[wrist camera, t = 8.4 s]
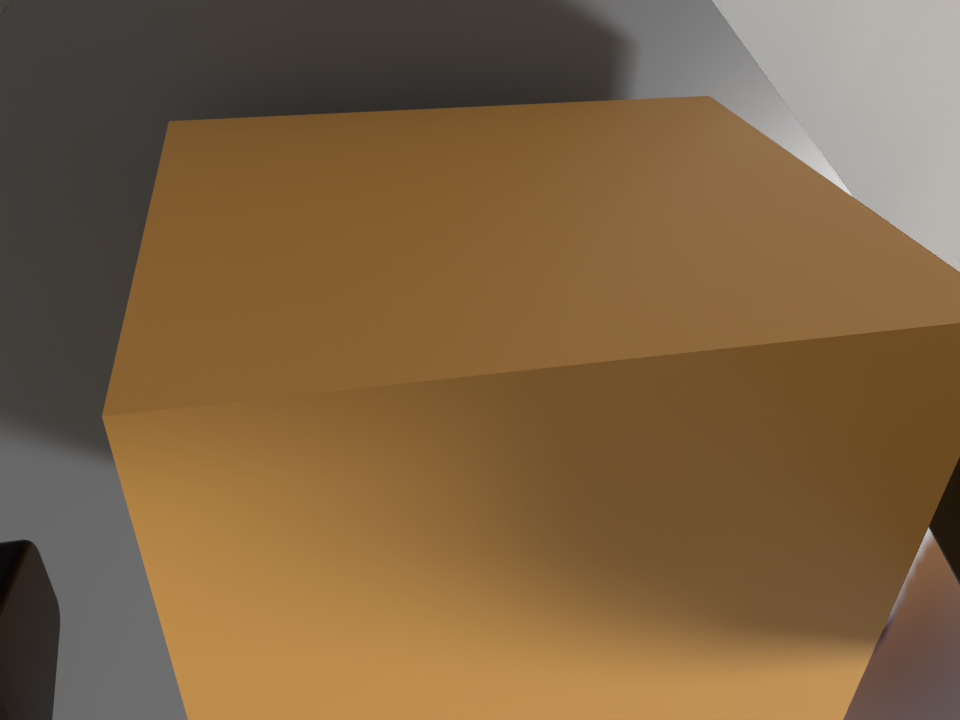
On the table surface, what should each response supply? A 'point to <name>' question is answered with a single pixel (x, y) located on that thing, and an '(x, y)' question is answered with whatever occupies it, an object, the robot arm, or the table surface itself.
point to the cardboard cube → (525, 416)
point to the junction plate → (128, 191)
